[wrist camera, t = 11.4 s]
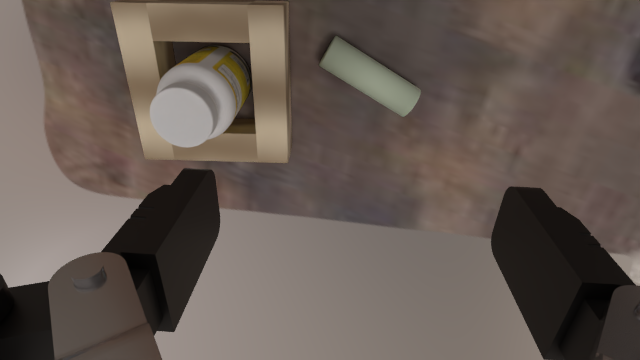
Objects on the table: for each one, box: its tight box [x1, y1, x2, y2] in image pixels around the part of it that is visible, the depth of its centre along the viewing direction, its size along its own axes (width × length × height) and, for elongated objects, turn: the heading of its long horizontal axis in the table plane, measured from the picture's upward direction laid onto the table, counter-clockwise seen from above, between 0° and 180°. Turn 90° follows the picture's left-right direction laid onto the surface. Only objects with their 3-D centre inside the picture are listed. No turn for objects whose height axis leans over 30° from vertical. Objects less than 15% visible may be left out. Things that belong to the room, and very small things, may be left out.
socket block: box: [110, 0, 292, 163], centre depth 31 cm, size 12×12×4 cm
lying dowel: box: [319, 36, 421, 117], centre depth 31 cm, size 8×3×3 cm
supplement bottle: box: [150, 45, 251, 148], centre depth 29 cm, size 5×5×10 cm
